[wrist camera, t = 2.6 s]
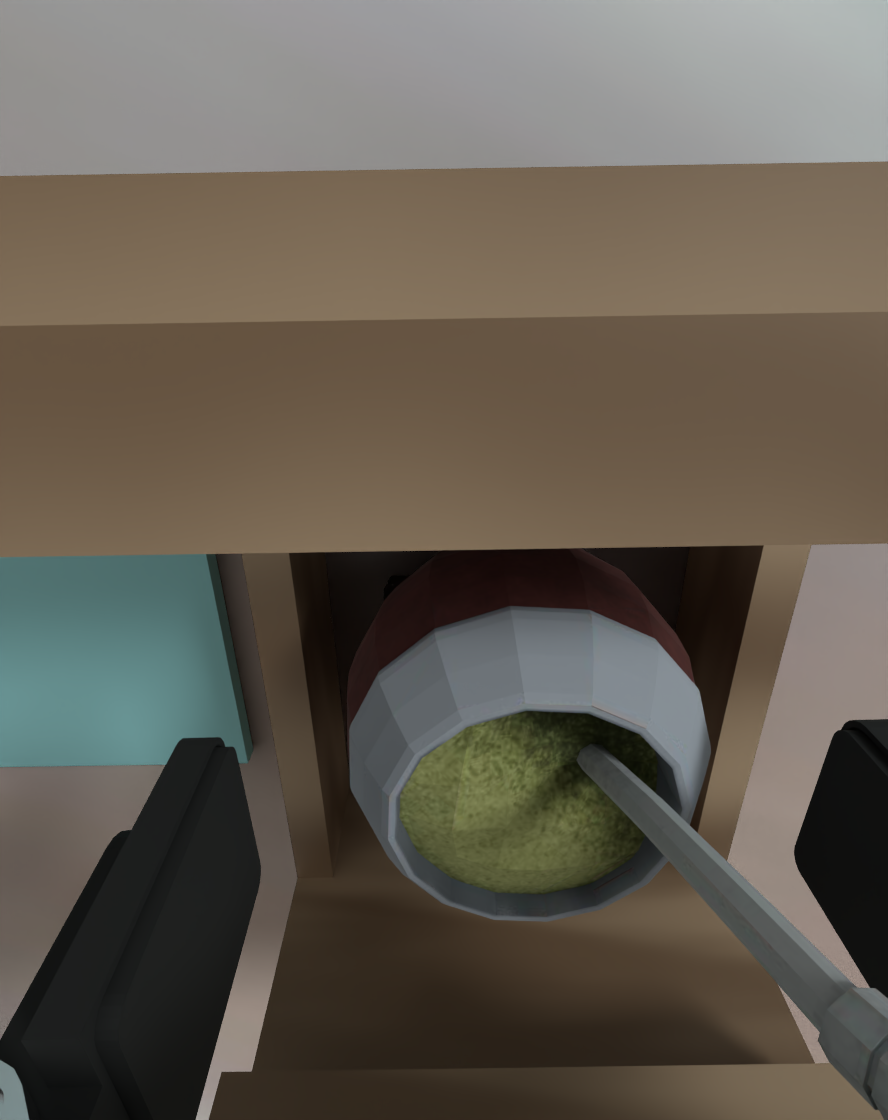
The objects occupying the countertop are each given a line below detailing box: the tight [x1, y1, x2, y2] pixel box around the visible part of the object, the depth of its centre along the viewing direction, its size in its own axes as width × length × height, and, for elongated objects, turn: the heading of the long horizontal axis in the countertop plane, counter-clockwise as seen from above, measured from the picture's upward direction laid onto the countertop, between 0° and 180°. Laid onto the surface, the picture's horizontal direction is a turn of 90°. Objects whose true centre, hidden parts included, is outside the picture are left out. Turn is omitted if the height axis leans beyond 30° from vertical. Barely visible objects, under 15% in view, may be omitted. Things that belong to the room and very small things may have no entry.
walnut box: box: [0, 162, 888, 1120], centre depth 12 cm, size 17×12×10 cm
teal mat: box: [0, 554, 253, 767], centre depth 17 cm, size 12×10×1 cm
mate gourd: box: [347, 548, 888, 1120], centre depth 10 cm, size 8×8×15 cm
